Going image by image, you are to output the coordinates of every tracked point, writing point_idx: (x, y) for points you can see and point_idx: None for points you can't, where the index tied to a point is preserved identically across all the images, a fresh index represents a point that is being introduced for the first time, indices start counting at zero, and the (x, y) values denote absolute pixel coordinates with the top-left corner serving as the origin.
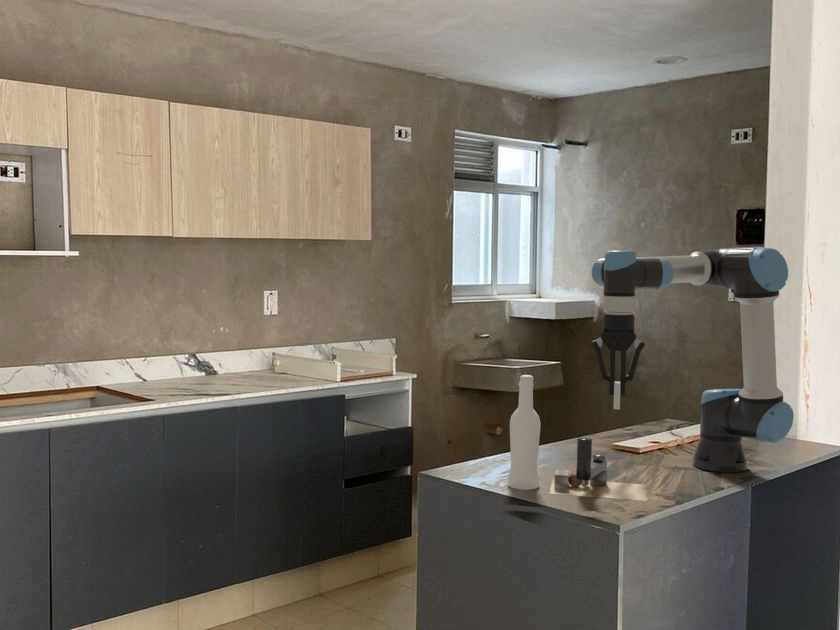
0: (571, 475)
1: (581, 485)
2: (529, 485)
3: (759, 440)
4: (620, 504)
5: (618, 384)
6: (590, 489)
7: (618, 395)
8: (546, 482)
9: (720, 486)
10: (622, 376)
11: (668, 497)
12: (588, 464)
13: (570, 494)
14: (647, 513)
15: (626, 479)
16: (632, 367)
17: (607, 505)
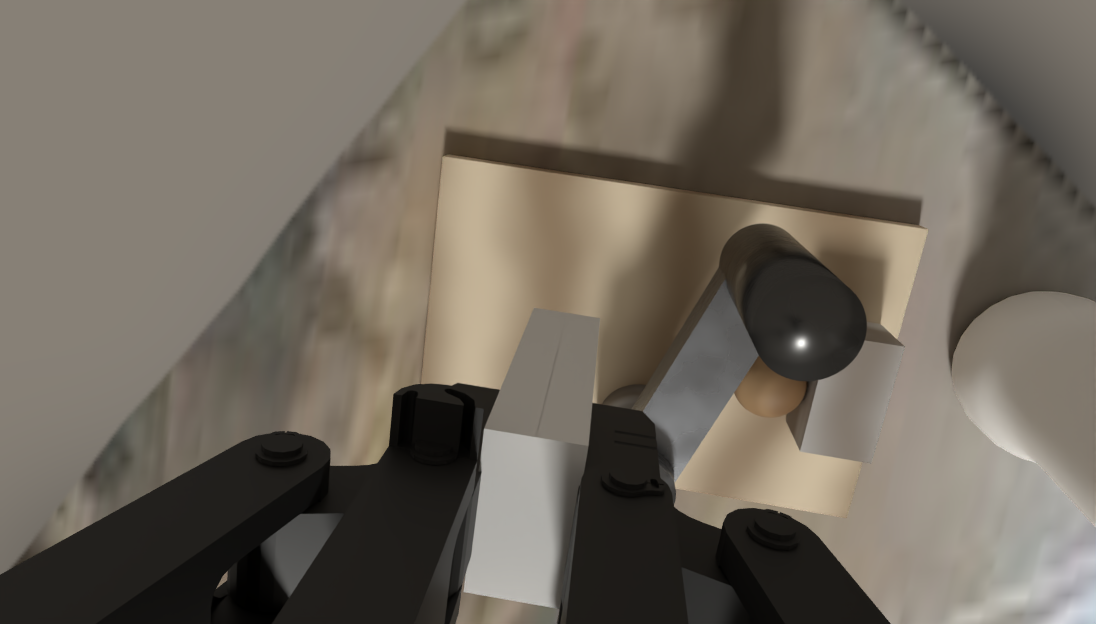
0: (797, 381)
1: None
2: (1033, 298)
3: None
4: (574, 161)
5: (520, 421)
6: None
7: (536, 360)
8: (871, 503)
9: (93, 502)
10: (422, 493)
11: (333, 308)
12: (754, 246)
13: (816, 225)
14: (469, 19)
15: None
16: (118, 568)
17: (641, 134)
